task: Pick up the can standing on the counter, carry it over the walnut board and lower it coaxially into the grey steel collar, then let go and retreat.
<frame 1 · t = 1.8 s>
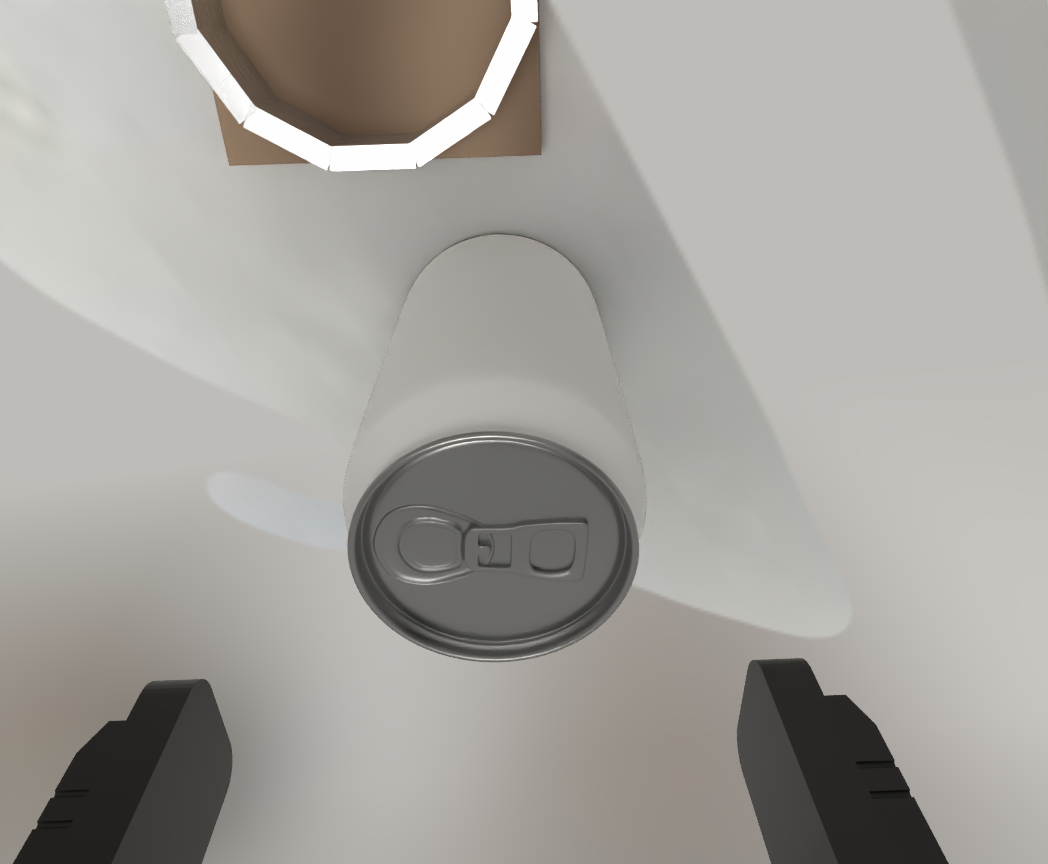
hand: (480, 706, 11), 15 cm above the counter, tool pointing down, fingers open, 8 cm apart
can: (501, 324, 25), on the counter
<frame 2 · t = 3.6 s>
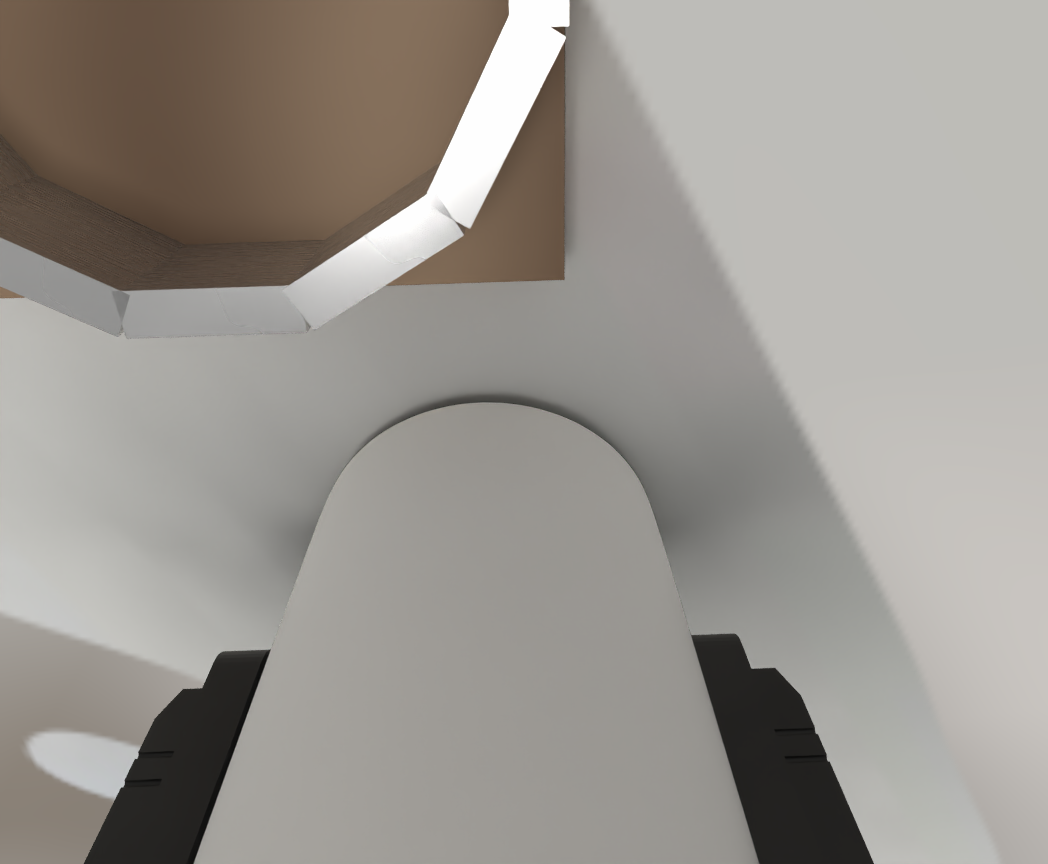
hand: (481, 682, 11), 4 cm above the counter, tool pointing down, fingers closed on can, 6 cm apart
can: (490, 528, 15), on the counter, touching gripper
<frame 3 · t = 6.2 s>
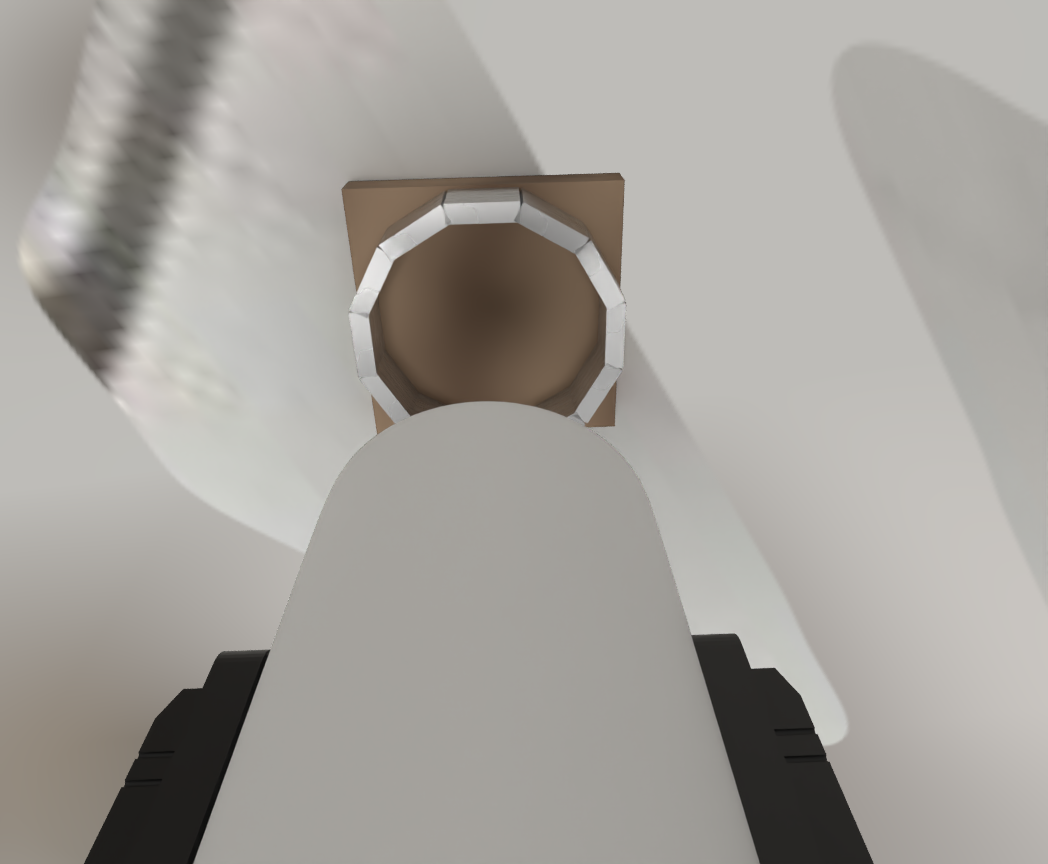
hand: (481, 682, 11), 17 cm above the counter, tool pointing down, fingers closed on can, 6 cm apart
can: (489, 527, 15), point 13 cm above the counter, touching gripper
collar: (489, 329, 24), on the board, point 2 cm above the counter
board: (490, 306, 26), on the counter
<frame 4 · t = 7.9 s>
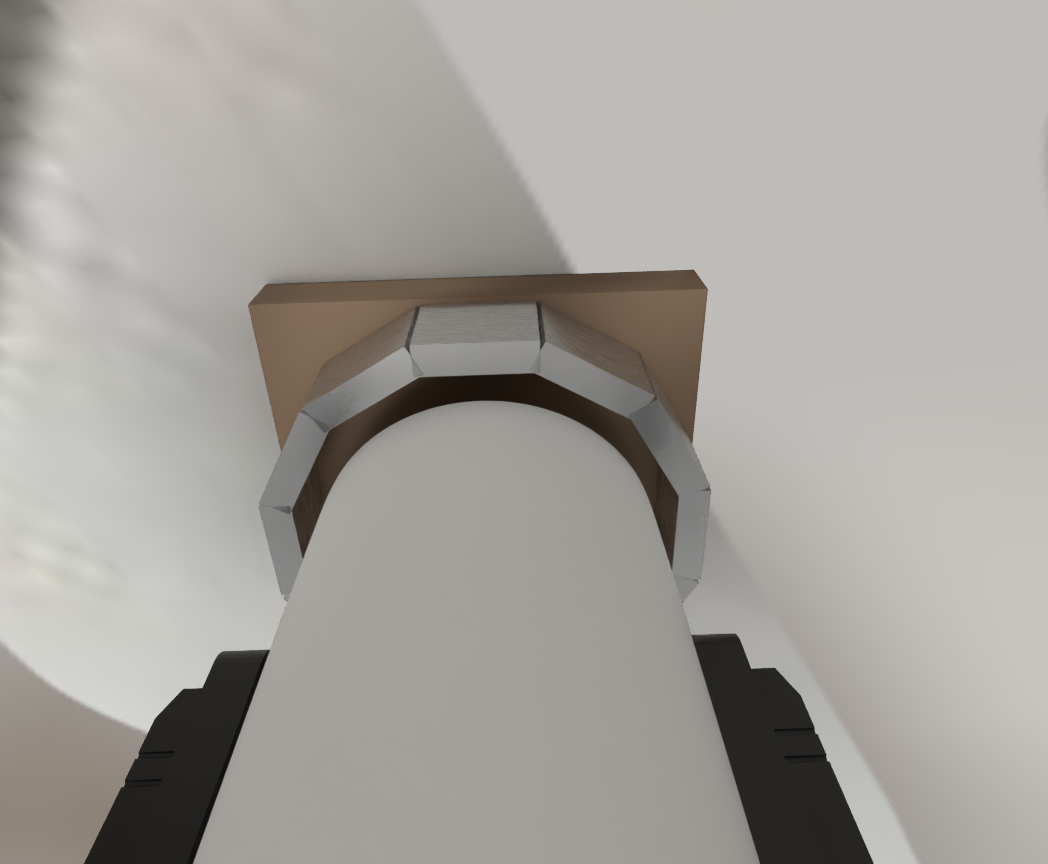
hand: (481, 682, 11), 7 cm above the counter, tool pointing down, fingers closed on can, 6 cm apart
can: (489, 527, 15), point 3 cm above the counter, touching gripper
collar: (489, 514, 15), on the board, point 2 cm above the counter
board: (491, 458, 17), on the counter
when the fingers open (6 cm above the counter, at t = 8.9 s): can drops 1 cm, resting on board.
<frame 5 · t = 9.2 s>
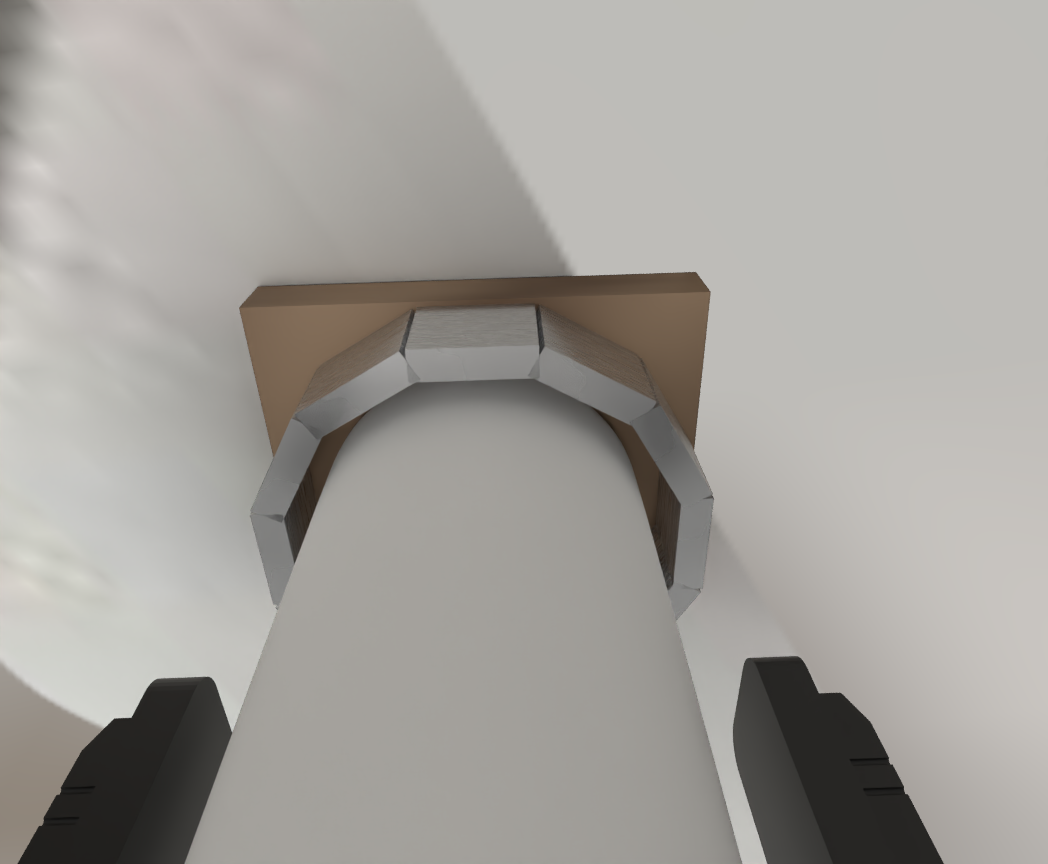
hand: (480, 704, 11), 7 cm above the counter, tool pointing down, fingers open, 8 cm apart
can: (484, 489, 16), point 1 cm above the counter, touching board
collar: (486, 522, 15), on the board, point 2 cm above the counter
board: (488, 464, 17), on the counter
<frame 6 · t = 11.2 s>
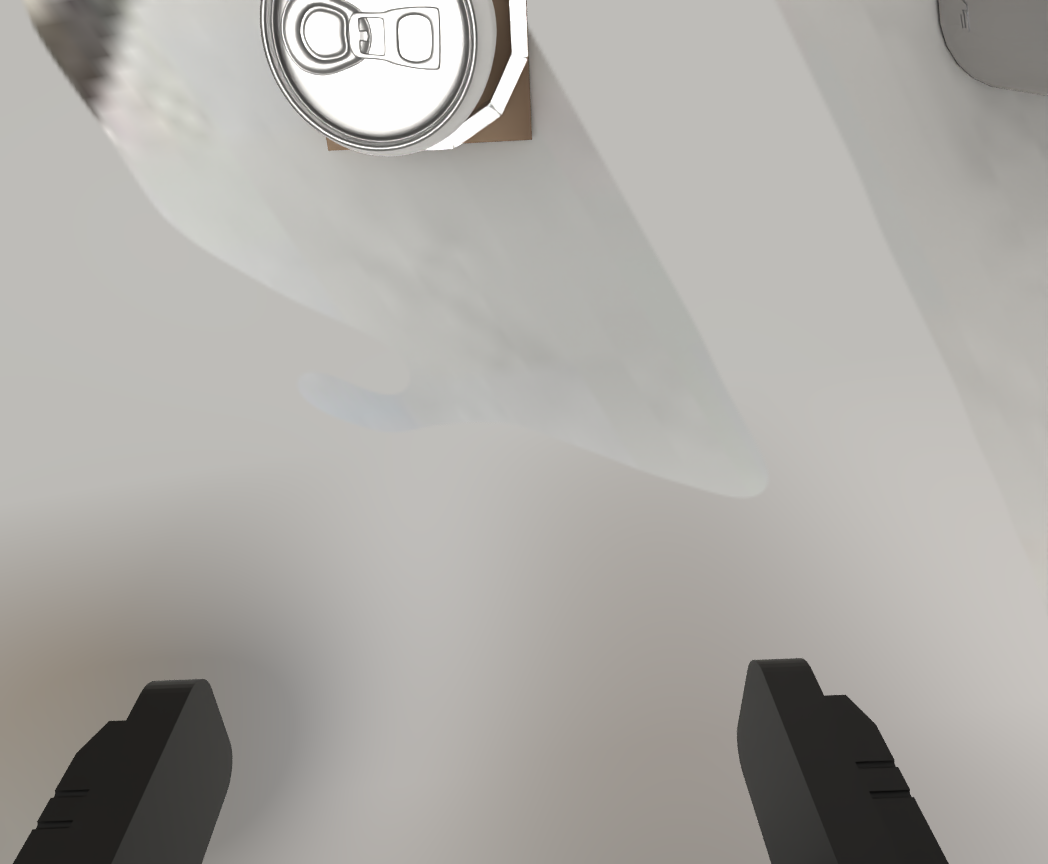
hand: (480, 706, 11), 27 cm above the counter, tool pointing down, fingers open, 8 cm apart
can: (416, 28, 30), point 1 cm above the counter, touching board
collar: (415, 29, 29), on the board, point 2 cm above the counter
board: (420, 28, 31), on the counter
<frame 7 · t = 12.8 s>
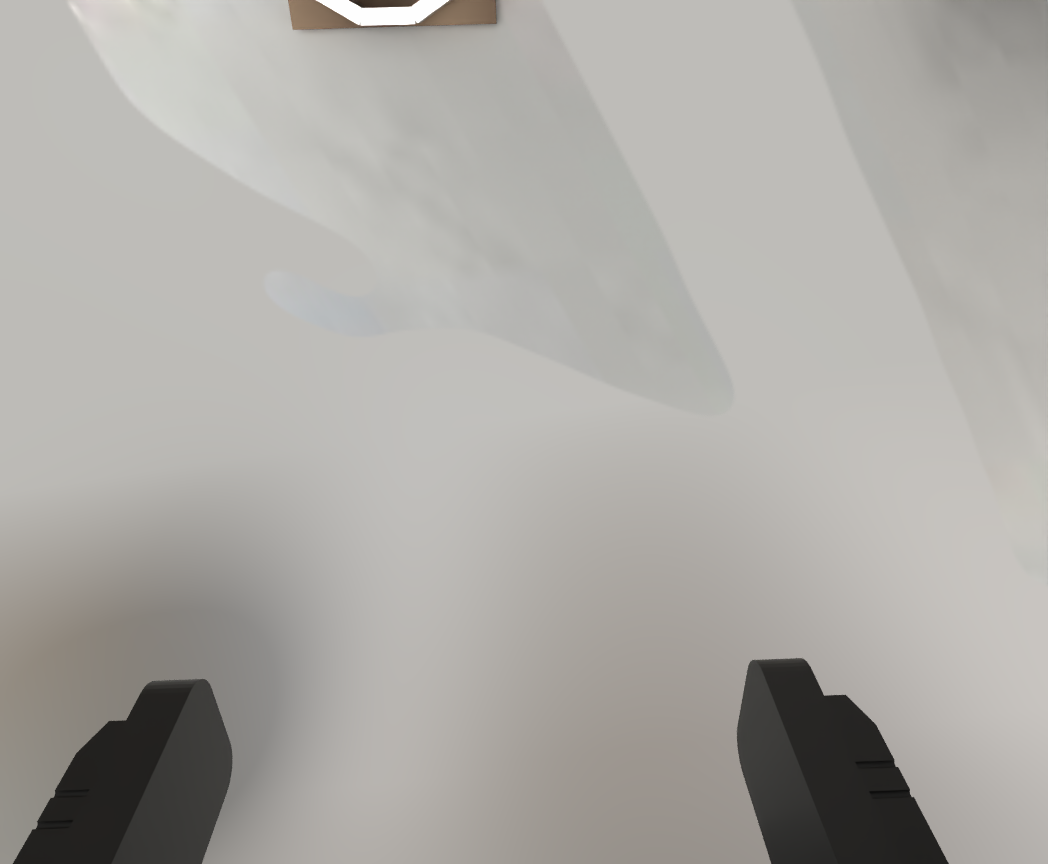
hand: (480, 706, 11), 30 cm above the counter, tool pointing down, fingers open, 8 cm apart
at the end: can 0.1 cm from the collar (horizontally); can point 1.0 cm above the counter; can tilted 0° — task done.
